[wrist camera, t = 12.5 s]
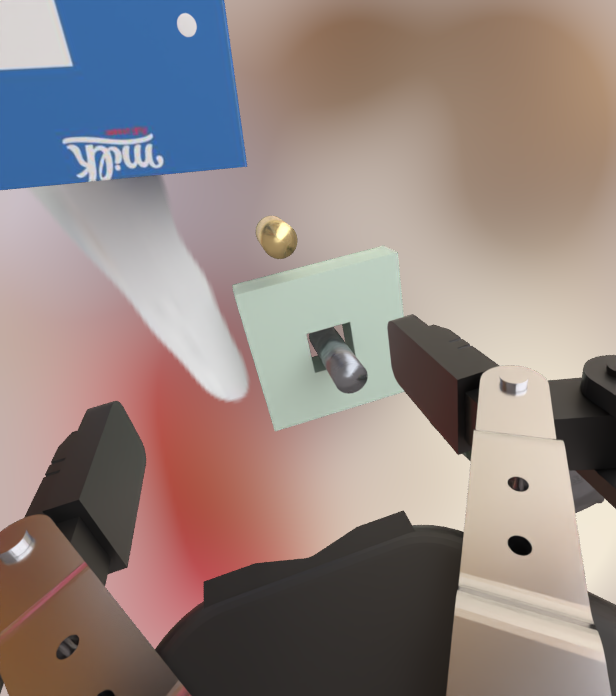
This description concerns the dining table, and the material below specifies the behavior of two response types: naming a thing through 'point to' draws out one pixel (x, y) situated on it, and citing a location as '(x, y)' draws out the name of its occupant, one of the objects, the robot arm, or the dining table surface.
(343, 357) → the long pin
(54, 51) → the milk carton
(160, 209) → the dining table surface
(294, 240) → the short pin
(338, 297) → the hole block
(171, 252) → the dining table surface
